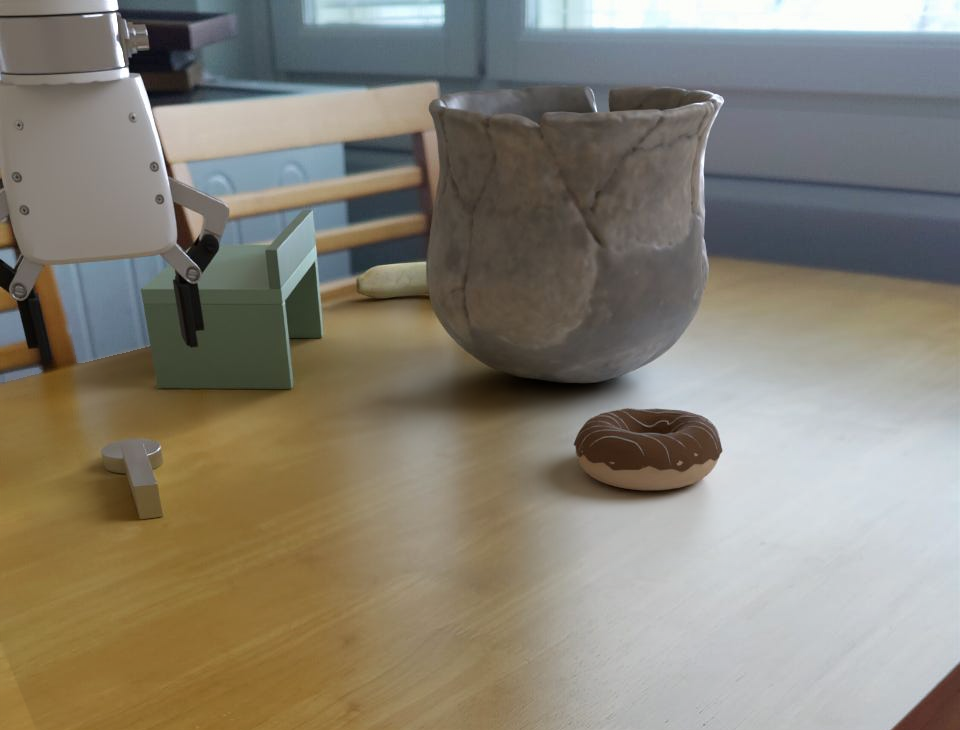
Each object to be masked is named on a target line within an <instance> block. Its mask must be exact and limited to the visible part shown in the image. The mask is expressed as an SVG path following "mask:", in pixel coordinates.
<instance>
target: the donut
mask: <svg viewBox="0 0 960 730" xmlns="http://www.w3.org/2000/svg"><path fill="white" fill-rule="evenodd" d="M720 438H721V437H720V434H719V431H718V428H717V427H716V425H714V424H713V422H712V421H710V420H709V419H708V418H706V417H705V416H703V415H702V414H696V413H694V412H690V411H687V410H682V409H667V408H642V409H641V408H629V407H627V408H621V409H615V410H611V411H607V412H602V413H601V412H600V413H599V414H597V415H595V416H593V417H591V418H589V419H588V420H587V421H585V423H584V424H583V425H582V427H581V428H580V430H579V431H578V432H577V435H576V437H575V439H574V442H573V444H572V445H573V446H574V447H575V454H576V458H577V462H578V463H579V465H580V467H581V468H582V469H583V471H585V473H586V474H587V475H589V476H590V477H591V478H593V479H594V480H596V481H598V482H601V483H603V484H605V485H609V486H611V487H615V488H622V489H625V490H626V489H627V490H633V491H668V490H674V489H679V488H683V487H687V486H690V485H693V484H695V483H698V482H699V481H701V480H702V479H704V478H705V477H707V476H708V475H709V474H710V473H711V472H712V471H713V470H714V468H715V467H716V465H717V463H718V461H719V459H720V457H721V456H720V455H721V454H722V453H723V447H722V443H721V439H720Z"/></svg>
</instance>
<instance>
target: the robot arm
mask: <svg viewBox="0 0 960 730" xmlns="http://www.w3.org/2000/svg"><path fill="white" fill-rule="evenodd" d="M118 4H119V3H118V0H0V78H1V79H0V176H1V181H2V188H1V189H0V222H2V221H3V220H5V219H6V218H7V217H8V216H9V220H10V223H11V227H12V232H13V235H14V238H15V240H16V243H17V246H18V249H19V251H20V254H19V256H18V258H17V261H16V262H15V264H14V266H13V267H12V266H11V265H9V264H8V263H7V262H6V261H4V260H3V259H2V258H0V288H2V289H3V290H4V291H5V292H7V293H8V294H9V295H10V296H11V297H12V298H13V299H14V300H16V303H17V308H18V312H19V316H20V321H21V324H22V328H23V329H22V330H23V333H24V337H25V343H26V345H27V349H28V350H32V349H39V354H40V358H41V363H42V364H43V365H49V364H51V362H53V361H54V358H53V352H52V348H51V344H50V339H49V335H48V331H47V325H46V323H45V318H44V317H45V316H44V314H43V310H42V309H43V308H42V305H41V300H40V295H39V292H35V287H34V286H35V285H36V283H37V280H38V279H39V277H40V275H41V273H42V272H43V270H44V267H45V266H60V265H74V264H84V263H85V264H86V263H95V262H96V263H97V262H106V261H118V260H127V259H137V258H146V257H148V258H149V257H154V256H160V257H161V258H163V260H165V262H166V263H168V265H171V266H172V267H173V268H174V269H175V274H176V276H175V279H174V280H173V286H174V292H175V298H176V304H177V310H178V316H179V322H180V328H181V334H182V338H183V340H184V341H185V343H186V345H187V346H190V348H193V347H198V342H197V336H196V331H201V330H204V322H203V315H202V309H201V302H200V295H199V289H198V282H199V281H200V279H201V276H202V273H203V272H204V271H205V269H206V268H207V266H208V265H209V263H210V262H211V261H212V259H213V258H214V256H215V255H216V254H217V252H218V250H219V245H221V244H220V243H221V241H222V238H223V236H224V232H225V229H226V226H227V223H228V220H229V216H230V208H229V206H228V205H227V204H226V203H225V202H224V201H222V200H221V199H218V198H217V197H214V196H212V195H211V194H208V193H206V192H203V191H201V190H199V189H197V188H195V187H193V186H191V185H188V184H186V183H184V182H182V181H180V180H177V179H176V178H173V177H171V176H169V175H168V171H167V167H166V163H165V158H164V153H163V149H162V148H163V147H162V144H161V140H160V137H159V132H158V129H157V126H156V123H155V119H154V115H153V110H152V107H151V102H150V99H149V96H148V93H147V89H146V87H145V85H144V81H143V79H142V76H141V74H140V73H137V72H136V73H135V72H130V68H129V66H130V62H129V61H130V60H129V58H133V55H134V54H135V55H136V54H138V51H139V52H141V51H150V42H149V40H150V39H149V34H148V30H147V26H146V24H145V23H143V24H141V23H140V24H134V23H133V21H127V20H126V19H125V18H122V13H120V12H118V10H119V5H118ZM174 203H175V204H177V205H178V206H179V205H180V206H181V207H184V208H186V209H188V210H190V211H193V212H195V213H197V214H199V215H201V216H202V219H203V220H202V225H201V230H200V233H199V234H198V236H197V237H196V239H195V240H194V242H193V243H192V245H191V246H190V247H189V248H190V249H189V248H188V249H189V250H188V252H187V253H186V252H185V251H186V250H184V249H183V248H182V247H181V246H180V244H178V243H177V240H178V228H177V227H178V226H177V219H176V212H175V207H174Z"/></svg>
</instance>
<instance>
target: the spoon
mask: <svg viewBox="0 0 960 730" xmlns="http://www.w3.org/2000/svg"><path fill="white" fill-rule="evenodd" d="M100 452H101V453H100V454H101V458H102V462H103V467H104V469H105V470H106V471H108V472H110V473H113V474H125V475H126V478H127V479H126V480H127V482H128V485H129V489H130V492H131V495H132V499H133V502H134V505H135V508H136V512H137V515H138V519H139V520H147V519H155V518H162V517H163V516H164V513H163V508H162V502H161V497H160V491H159V490H160V489H159V486H158V482H157V479H156V476H155V473H154V470H155V469H157V468H158V467H160V466H161V465H163V462H164V457H163V450H162V446H161V444H160V443H159V442H158V441H156V440H154V439H149V438H127V439H120V440H116V441H113V442H110V443H108V444H106V445H105V446H103V447H102V448H101V451H100Z"/></svg>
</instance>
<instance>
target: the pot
mask: <svg viewBox="0 0 960 730" xmlns="http://www.w3.org/2000/svg"><path fill="white" fill-rule="evenodd" d="M724 103H725V100H724V98H723V96H720V95H719V94H716V93H715V94H714V93H713V92H710V91H708V90H701V89H700V90H698V89H695V90H691V91H690V90H687V89H684V88H681V87H671V86H661V87H660V86H659V87H658V86H656V85H636V86H623V87H615V88H610V90H609V91H608V110H609V111H598V110H597V103H596V98H595V94H594V91H593V90H592V88H591V87H590V86H587V85H575V86H574V85H535V86H528V87H522V88H518V89H517V90H513V89H511V88H497V89H486V90H471V91H459V92H458V91H457V92H454V93H445V94H444V95H442V96H440V97H439V98H434V99H433V100H432V101H430V102H429V105H428V112H429V114H430V116H431V118H432V121H433V125H434V129H435V134H436V140H437V152H438V165H439V168H438V169H439V172H438V179H437V180H438V181H437V186H436V191H435V197H434V204H433V211H432V217H431V225H430V226H431V227H430V230H429V231H430V232H429V241H428V246H427V252H426V260H425V262H426V282H427V286H428V290H429V293H430V294H429V300H430V301H429V302H430V304H431V307H432V310H433V312H434V314H435V317H436V318H437V320H438V322H439V323H440V325H441V326H442V327H443V329H444V330H445V331H446V333H447V334H448V335H449V336H450V338H451V339H452V340H453V341H454V342H455V343H456V344H457V345H458V346H459V347H461V348H462V349H463V350H464V351H465V352H467V353H468V354H469V355H471V356H472V357H473V358H475V359H476V360H478V361H479V362H481V363H482V364H484V365H486V366H487V367H489V368H491V369H495V370H496V371H500V372H503V373H505V374H508V375H512V376H514V377H518V378H523V379H525V378H526V379H532V380H539V381H546V382H551V383H552V382H553V383H562V384H563V383H564V384H591V383H593V384H594V383H600V382H605V381H609V380H612V379H615V378H618V377H621V376H622V375H626V374H628V373H629V374H630V372H634V371H636V370H638V369H640V368H642V367H644V366H646V365H649V364H651V363H652V362H653V361H655V360H657V359H659V358H660V357H661V356H663V355H664V354H665V353H666V352H668V351H669V350H670V349H672V347H673V346H674V345H675V344H676V343H677V342H678V340H680V338H681V337H682V335H683V334H684V333H685V331H686V330H687V329H688V327H689V326H690V325H691V324H692V321H693V320H694V318H695V317H696V315H697V313H698V311H699V308H700V306H701V304H702V299H703V296H704V293H705V290H706V287H707V284H708V278H709V274H710V267H709V259H708V256H707V248H706V242H705V239H704V236H705V223H706V219H705V216H706V208H705V203H706V201H705V200H706V199H705V175H704V174H705V173H704V167H705V153H706V148H707V144H708V138H709V135H710V133H711V132H710V131H711V129H712V126H713V124H714V122H715V120H716V118H717V116H718V113H719V111H720V109H721V107H722V106H723V104H724Z"/></svg>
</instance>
